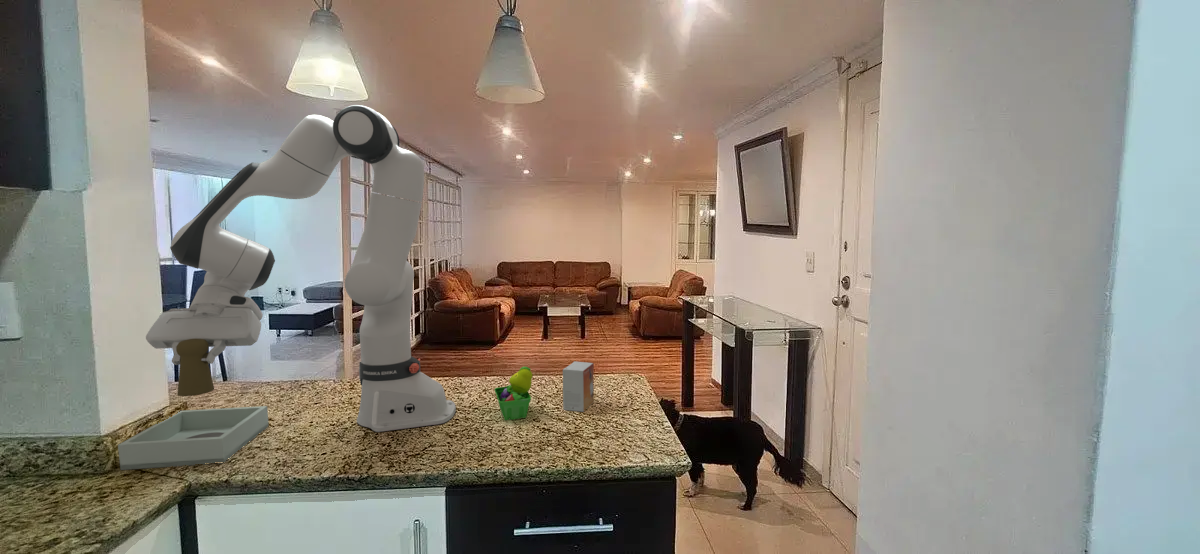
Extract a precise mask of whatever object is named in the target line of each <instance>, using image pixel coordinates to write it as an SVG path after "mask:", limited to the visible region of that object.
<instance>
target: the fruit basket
mask: <svg viewBox="0 0 1200 554" xmlns="http://www.w3.org/2000/svg"><path fill="white" fill-rule="evenodd" d="M532 378H533V372H532V371H531V368H529V367H528V366H522V367H521V368H519V370H518V371H517V372H516V373H514V374H512V375H510V378H509V380H508V383H509V385H506V386H499V387H495V388H494V393H495V395H496V398H497V402H498V406H499V409H500V411H501V413H502V417H503V419H504V421H509V420H519V419H526V418H527V415H528V410H529V407H530V403H531V400H532V396H531V395H530V393H529V391H530V389H531V388H532Z"/></svg>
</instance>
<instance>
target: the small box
mask: <svg viewBox="0 0 1200 554" xmlns="http://www.w3.org/2000/svg"><path fill="white" fill-rule="evenodd" d="M594 371H595V370H594V363H593V362H586V361H573V362H572V363H571V364H569V365H567V366H566V367H564V368H563V369H562V405H563V406H562V407H563V409H562V410H564V411H572V412H579V413H580V412H581V413H582V412H585V411H586V410H587V409H588V408H589V407H590V406H591V405H592V404H593V403H594V402H595V400H594V398H595V396H594V387H595V385H594V382H595V381H594V380H595V379H594V378H595V377H594V375H595V374H594V373H595V372H594Z"/></svg>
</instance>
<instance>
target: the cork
mask: <svg viewBox="0 0 1200 554" xmlns="http://www.w3.org/2000/svg"><path fill="white" fill-rule="evenodd" d="M209 348H210V347H209V346H208V342H207V341H206V340H204V339H188V340H184V341H181V342H179V343H178V345H177V348H176V351H177V354H178V355H179V356H180V357H181V359H180V365H179V370H178V371H179V372H178V373H179V374H178V385H177V394H176V395H177V396H180V397H191V396H192V397H193V396H198V395H203V394H209V393H210V392H213V391H214V390H215V386H214V383H213V381H214V380H213V378H212V374H211V369H210V366H209V365H210V364H205V363H204V362H202V361H201V359H202V357H203V355H204V354H205V353H208V352H209Z"/></svg>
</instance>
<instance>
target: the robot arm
mask: <svg viewBox="0 0 1200 554" xmlns="http://www.w3.org/2000/svg"><path fill="white" fill-rule="evenodd" d="M346 157H351V158H353V159H358V160H360V161H361V160H362V161H363V162H365V163H368V164H370V166H371V167H372V170H373V182H372V188H371V193H370V199H369V204H368V210H367V214H366V220H365V223H364V228H363V233H362V235H361V237H360V239H359V240H360V241H359V243H358V245H357V249H356V251H355V255H354V257H353V260H352V264H351V266H350V268H349V269H348V272H347V273H346V275H345V278H344V288H345V291H346V293H347V295H348V297H349V298H350V299H351V300H352V301H354V302H355V303H356V304H359V305H362V306H364V307H363V314H362V317H361V318H362V319H361V324H360V326H359V346H360V348H359V349H360V361H359V363H358V364H359V366H358V375H359V377H358V378H359V383H360V386H361V393H360V403H359V408H358V409H359V411H358V413H357V418H356V423H357V424H358V425H360V426H361V427H366V428H369V429H371V430H372V431H374V432H377V433H381V432H387V431H395V430H403V429H410V428H411V429H412V428H419V427H425V426H426V427H427V426H433V425H435V426H436V425H440V424H445V423H447V422H448V421H449V420H450V421H451V419H452V418H453V417H454V415H455V414H456V410H457V409H456V403H455V402H454V401H452V400H450V399H447V397H446V396H447V395H446V393H445V390H444V387H443V385H442V384H441V383H440V382H438V381H436V380H435V379H433V378H432V377H430V376H428V375H426V374H425V373H423V372H422V371H421V358H420V357H419V358H418V359H417V357H416V358H415V357H414V356H413V355H412V349H411V347H412V346H411V316H412V315H411V314H412V305H413V293H414V292H413V290H414V279H415V278H414V277H415V271H414V268H413V266H412V264H411V263H410V262H409V261H408V257H409V255H410V251H411V248H412V245H413V242H414V240H415V238H416V237H417V230H418V225H419V220H420V214H421V209H422V204H423V197H424V190H425V164H424V161H423V160H422V158H421V157H420V156H419V155H418V154H416V153H415V152H413V151H410V150H407V149H405V148H402V147H400V137H399V134H398V130H397V129H396V128H395V127H394V125H392V123H391V122H390V120H388V119H387V118H386V117H385V116H384V115H382V113H380V112H377V111H376V110H375V109H373V108H372V107H368V106H366V105H359V104H353V105H349V106H346V107H344V108H342V109H341V110H340V111H338V112H337V114H336V115H335V117H334V119H333V120H332V119H331V118H329V117H326V116H323V115H320V114H310V115H307V116H304V118H303V119H302V120H300V122H299V123H297V125H296V126H295V127H294V128H293V129H292V130H291V132H290V133H289V134H288V135H287V137H286V138H285V139H284V140H283V142H282V143H281V145H280V146H279V148H278V150H277V151H276V152H275V153H274V154H273V156H271V157H270V158H268V159H266V160H265V161H262V162H251V163H249V164H247V165H245V166H244V167H243V168H242V169H240V170H239V171H238V172H237V173H236V175H234V176H233V177H232V178H231V179H230V180H229V181H228V182H226V184H225V185H224V186H223V187H222V188H221V189H220V190H219V192H217V193H216V195H214V197H213V198H212V199H211V200H210V201H208V203H207V204H206V205H205V206H204V208H202V209H201V211H200V212H198V214H197V215H196V216H195V217H194V218H193V219H190V221H188V222H187V223H185V224H184V225H183V226H182V227H181V228H180V229H178V230H177V232H176V233H175V235H174V237H173V238H172V240H171V244H170V251H171V253H172V255H173V257H174V258H175V260H177V262H178V263H179V264H180V265H183V266H187V267H190V268H193V269H194V268H195V269H200V270H203V271H205V274H204V279H203V280H204V281H203V284H202V285H200V287H199V288H198V289H197V291H196V293H195V294H194V298H193V300H192V301H191V304H190V306H189V307H185V308H170V309H169V310H166V311H164V312H161V314H160V315H159V317H158V318H157V319H156V320H155V322H154V323H153V324H152V326H150V328H149V330H148V331H147V333H146V335H145V340H146V341H147V343H148V344H150V346H151V347H153V348H154V349H161V350H162V349H172V352H173V356H172V359H171V363H172V364H174V365H175V366H177V365H179V366H180V359H181V357H180V356H179V355H178V354H177V351H176V348H177V345H178V343H179V342H181V341H184V340H188V339H204V340H206V341H207V342H208V346H209V348H211V349H210V350H208V351H207V353H205V354H204V355H203V357H202V359H201V361H202V362H204V363H205V364H208V365H210V364H213V363H215V362H214V361H215V359H216V357H218V356H219V355H220V354H221V353H223V352H224V351H225V350H226V347H242V346H243V347H246V346H253V345H255V344H256V342H258V339H259V336H260V334H261V329H262V323H261V322H262V321H261V320H262V318H263V315H264V314H263V312H262V311H261V309H260V307H259V306H258V304H257V303H256V302H255V300H253V298H251V297H248V296H245V294H246V293H247V292H248V291H253V290H255V289H258V288H260V287H262V286H265V284H266V283H267V281H268V280H269V278H270V276H271V273H272V271H273V267H274V264H275V262H276V260H275V256H274V253H273V251H272V249H271V248H269V247H268V246H265V245H263V244H261V243H259V242H256V241H254V240H252V239H249V238H246V237H244V236H241V235H238V234H236V233H234V232H231V231H229V230H227V229H224V228H222V227H221V226H220V224H221V223H223V221H224V220H225V219H226V218H227V217H228V216H229V215H230V214H231V213H232V212H233V210H234V209H235V208H236V207H237V206H238V205H239V204H240V203H241V202H242V201H243V200H246V199H247V198H250V197H256V196H261V197H262V196H266V197H271V198H272V197H273V198H281V199H286V200H302V199H303V200H304V199H307V198H311V197H314V196H315V195H316V194H318V193H319V192H320V191H321V189H322V188H323V187H324V185H325V184H326V183H327V181H328V179H329V178H330V176H331V175H332V173H333V171H334V170H335V169H336V167H337V166H338V164H339V163H340V162H341V160H343V159H345V158H346Z"/></svg>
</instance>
